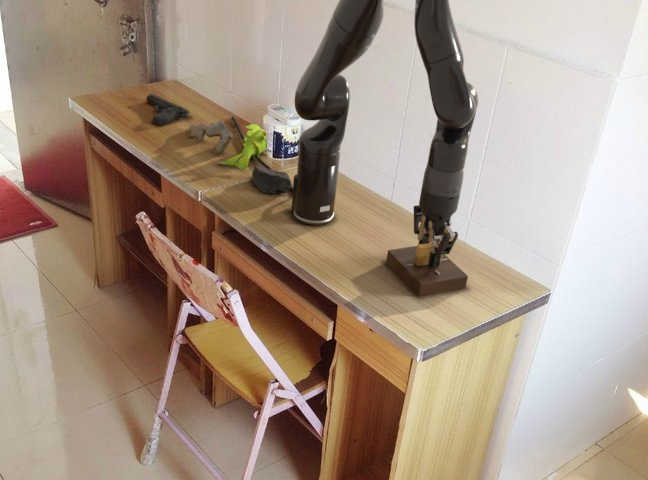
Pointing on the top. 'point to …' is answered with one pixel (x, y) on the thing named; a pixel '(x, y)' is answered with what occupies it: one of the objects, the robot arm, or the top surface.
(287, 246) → the top surface
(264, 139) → the toy
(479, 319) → the top surface
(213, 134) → the grey lumpy bent piece
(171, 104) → the handgun
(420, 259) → the red-tipped tan block
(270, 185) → the rock
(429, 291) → the lock plate
